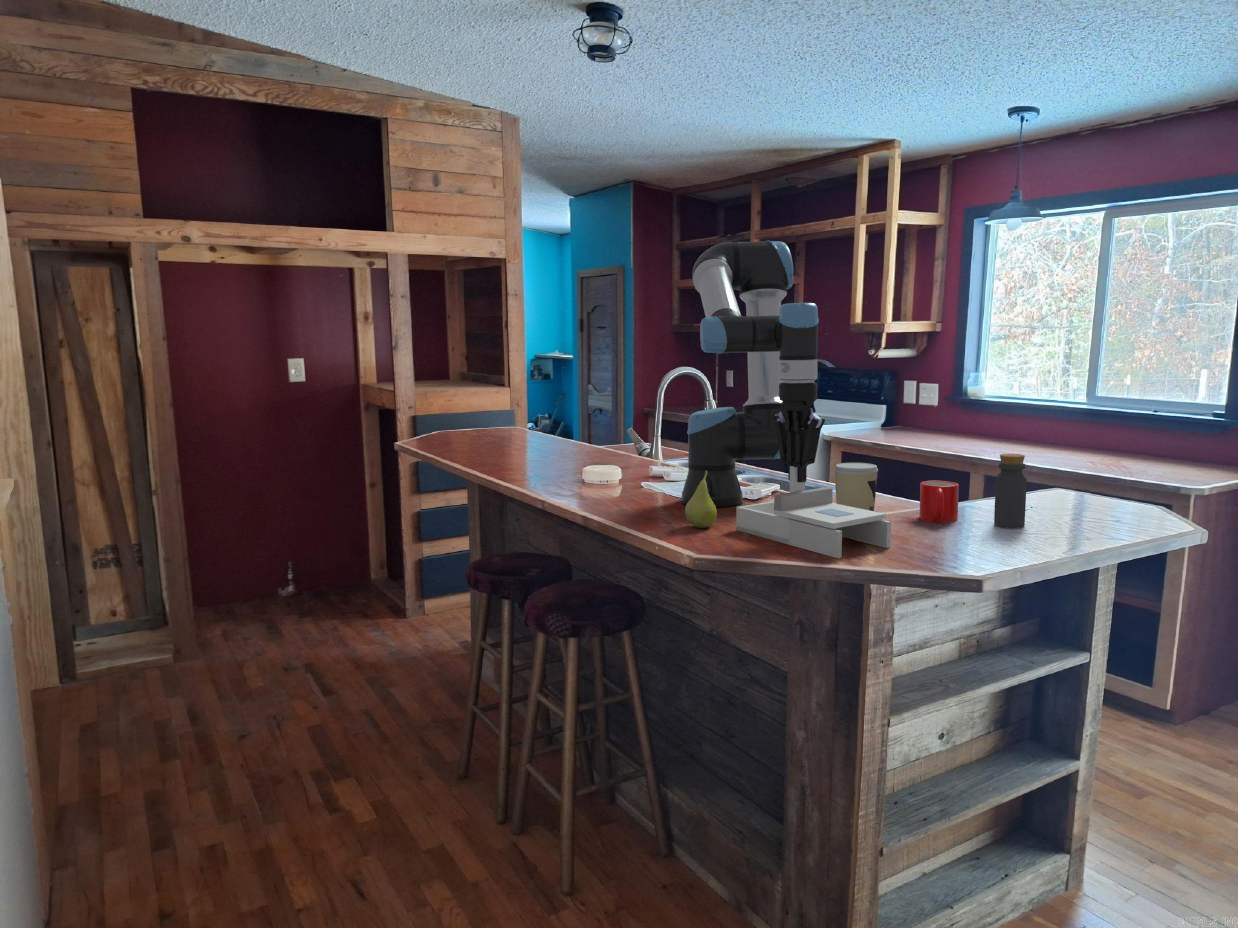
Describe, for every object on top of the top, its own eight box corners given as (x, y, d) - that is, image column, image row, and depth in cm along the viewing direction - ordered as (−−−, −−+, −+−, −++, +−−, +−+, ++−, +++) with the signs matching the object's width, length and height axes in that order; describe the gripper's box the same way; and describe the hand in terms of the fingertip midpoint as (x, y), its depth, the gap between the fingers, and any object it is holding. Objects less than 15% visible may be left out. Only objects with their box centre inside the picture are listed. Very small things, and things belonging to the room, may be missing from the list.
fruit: (681, 529, 179) (680, 474, 178) (691, 522, 186) (691, 469, 184) (711, 531, 177) (711, 475, 175) (721, 524, 184) (720, 470, 182)
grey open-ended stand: (736, 530, 178) (736, 506, 177) (786, 521, 185) (786, 499, 184) (837, 558, 153) (838, 531, 152) (890, 547, 160) (890, 521, 159)
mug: (921, 525, 178) (922, 489, 177) (918, 514, 189) (919, 480, 188) (961, 527, 176) (962, 490, 175) (955, 515, 187) (957, 480, 186)
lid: (774, 514, 167) (774, 494, 166) (825, 506, 174) (825, 487, 173) (833, 528, 153) (833, 507, 153) (885, 518, 160) (886, 498, 160)
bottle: (1000, 521, 180) (1003, 452, 178) (1028, 525, 176) (1032, 454, 174) (989, 525, 176) (992, 455, 174) (1018, 529, 172) (1021, 457, 170)
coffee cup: (879, 523, 181) (880, 468, 179) (834, 522, 182) (835, 468, 181) (874, 514, 190) (876, 462, 188) (832, 514, 191) (833, 462, 190)
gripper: (762, 381, 171) (761, 495, 174) (807, 383, 160) (806, 504, 163) (789, 380, 175) (789, 491, 178) (835, 381, 164) (833, 500, 167)
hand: (797, 497), depth 171 cm, fingers closed
